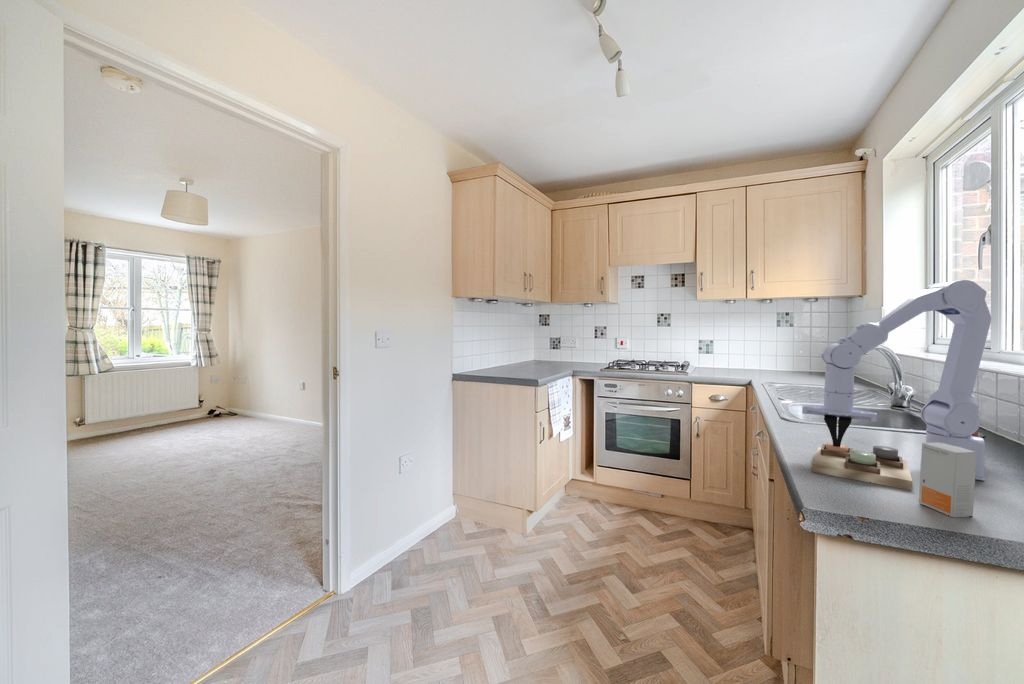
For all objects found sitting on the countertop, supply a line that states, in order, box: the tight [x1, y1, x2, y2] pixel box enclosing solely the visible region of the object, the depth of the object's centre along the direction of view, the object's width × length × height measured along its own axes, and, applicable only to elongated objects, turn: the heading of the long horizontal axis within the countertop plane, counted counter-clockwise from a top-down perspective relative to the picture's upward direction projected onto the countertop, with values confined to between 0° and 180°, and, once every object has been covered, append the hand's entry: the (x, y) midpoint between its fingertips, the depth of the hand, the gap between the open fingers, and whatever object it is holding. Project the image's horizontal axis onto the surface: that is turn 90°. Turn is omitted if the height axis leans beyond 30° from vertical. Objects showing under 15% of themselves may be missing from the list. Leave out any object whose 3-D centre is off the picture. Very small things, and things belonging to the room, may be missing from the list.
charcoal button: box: [872, 445, 899, 459], centre depth 98 cm, size 4×4×2 cm
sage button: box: [850, 449, 876, 465], centre depth 95 cm, size 4×4×2 cm
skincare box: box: [918, 442, 977, 518], centre depth 78 cm, size 6×4×12 cm
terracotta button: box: [825, 442, 849, 453], centre depth 105 cm, size 4×4×2 cm
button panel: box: [811, 443, 913, 491], centre depth 99 cm, size 17×16×3 cm
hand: (836, 446), depth 105 cm, fingers closed, pressing on terracotta button
